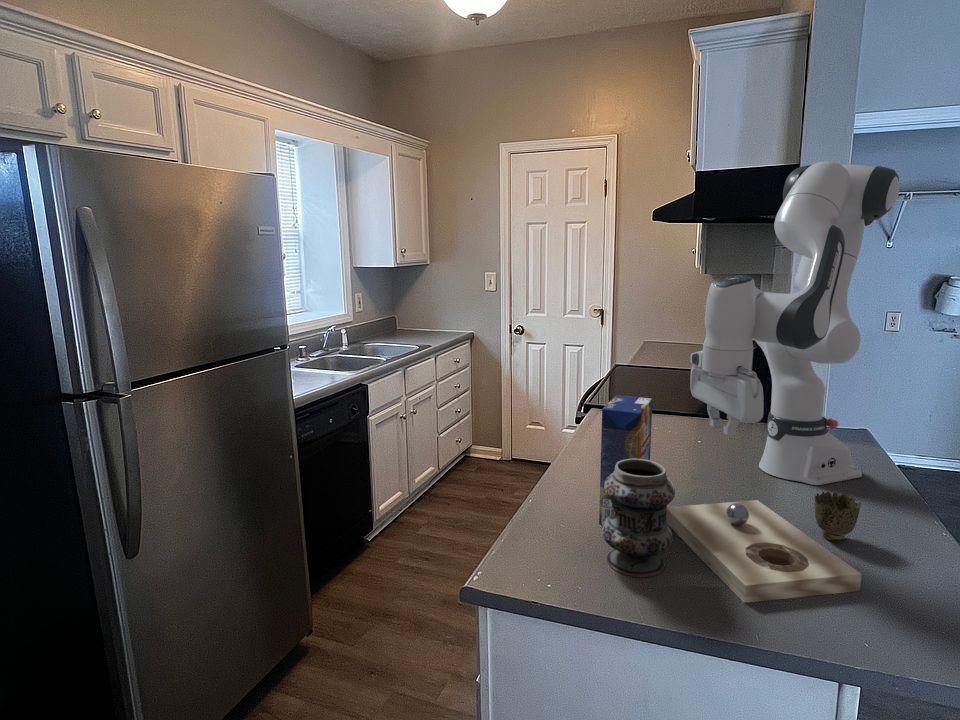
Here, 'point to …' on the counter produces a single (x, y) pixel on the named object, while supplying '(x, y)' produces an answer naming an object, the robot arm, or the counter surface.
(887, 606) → the counter surface
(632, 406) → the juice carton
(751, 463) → the counter surface
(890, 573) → the counter surface
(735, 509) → the steel ball
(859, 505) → the cup
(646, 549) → the apothecary jar
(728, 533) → the hole board
